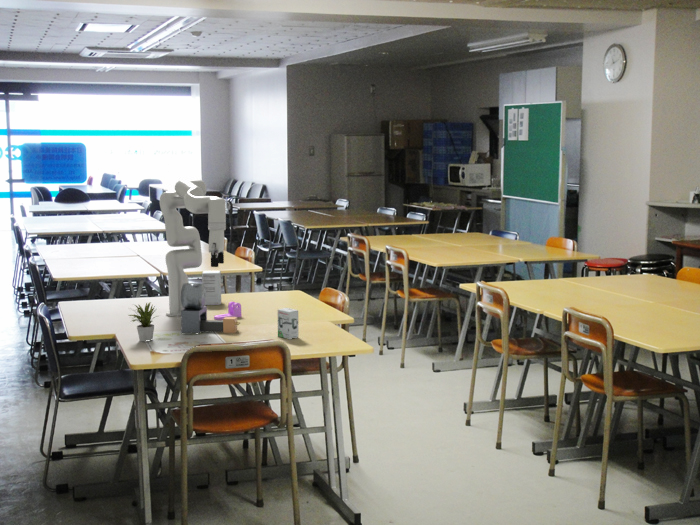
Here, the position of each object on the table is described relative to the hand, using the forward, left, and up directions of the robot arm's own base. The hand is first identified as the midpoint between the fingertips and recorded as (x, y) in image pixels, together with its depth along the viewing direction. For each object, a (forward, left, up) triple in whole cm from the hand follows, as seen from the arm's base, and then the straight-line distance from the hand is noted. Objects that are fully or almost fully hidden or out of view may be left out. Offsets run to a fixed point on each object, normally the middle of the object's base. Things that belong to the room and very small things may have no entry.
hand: (217, 265), depth 343 cm
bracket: (-25, -3, -29) cm, 38 cm away
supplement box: (-62, -20, -29) cm, 71 cm away
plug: (+6, -1, -28) cm, 29 cm away
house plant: (+24, -25, -29) cm, 45 cm away
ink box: (+16, +33, -29) cm, 47 cm away
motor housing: (+6, -10, -28) cm, 30 cm away
